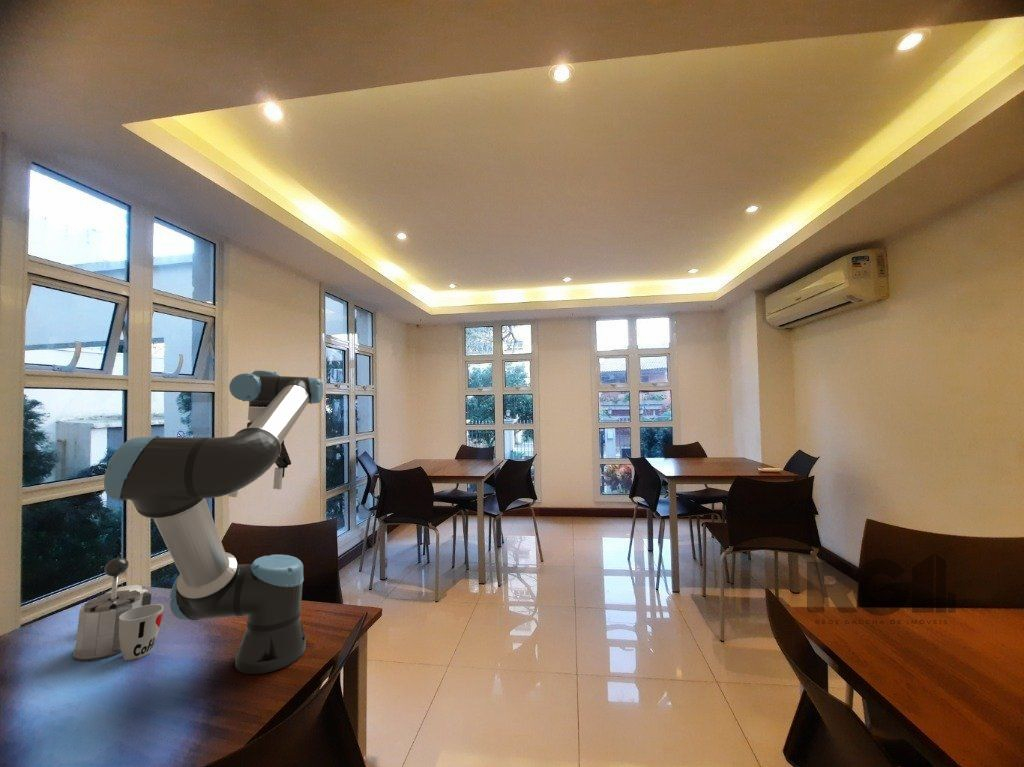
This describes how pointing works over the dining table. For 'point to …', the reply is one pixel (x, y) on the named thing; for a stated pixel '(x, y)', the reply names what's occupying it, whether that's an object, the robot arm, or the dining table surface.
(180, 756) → the dining table surface
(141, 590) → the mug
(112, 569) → the plunger
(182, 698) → the dining table surface
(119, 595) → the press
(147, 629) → the cup
